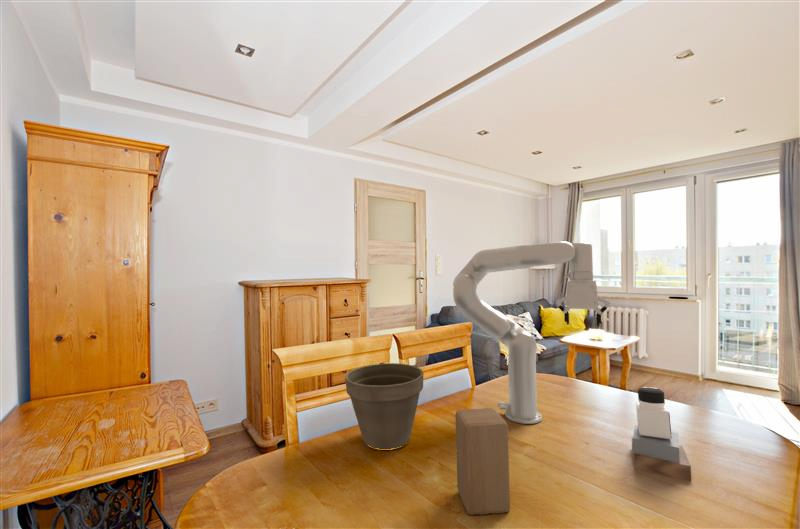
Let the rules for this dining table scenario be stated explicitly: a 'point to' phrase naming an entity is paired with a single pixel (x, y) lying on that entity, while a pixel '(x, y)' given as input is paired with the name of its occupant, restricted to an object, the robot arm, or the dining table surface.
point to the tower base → (664, 465)
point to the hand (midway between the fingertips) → (582, 324)
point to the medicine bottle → (653, 413)
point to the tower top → (656, 446)
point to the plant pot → (385, 402)
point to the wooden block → (482, 461)
